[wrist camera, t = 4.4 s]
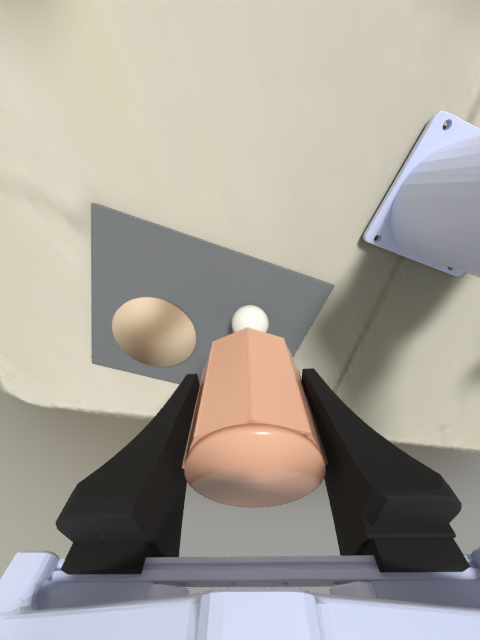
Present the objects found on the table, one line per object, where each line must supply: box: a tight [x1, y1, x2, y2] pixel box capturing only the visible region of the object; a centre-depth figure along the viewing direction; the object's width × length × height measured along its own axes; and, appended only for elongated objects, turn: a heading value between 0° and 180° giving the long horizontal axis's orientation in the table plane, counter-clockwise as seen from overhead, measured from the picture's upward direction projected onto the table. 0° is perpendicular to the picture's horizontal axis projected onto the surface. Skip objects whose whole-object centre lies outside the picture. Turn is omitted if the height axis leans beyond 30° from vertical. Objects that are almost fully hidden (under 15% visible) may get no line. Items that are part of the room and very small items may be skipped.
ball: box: [232, 305, 269, 333], centre depth 19 cm, size 3×3×3 cm
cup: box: [182, 327, 328, 507], centre depth 12 cm, size 6×6×6 cm
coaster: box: [112, 297, 196, 367], centre depth 22 cm, size 8×8×1 cm
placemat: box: [91, 203, 334, 384], centre depth 22 cm, size 20×16×1 cm
